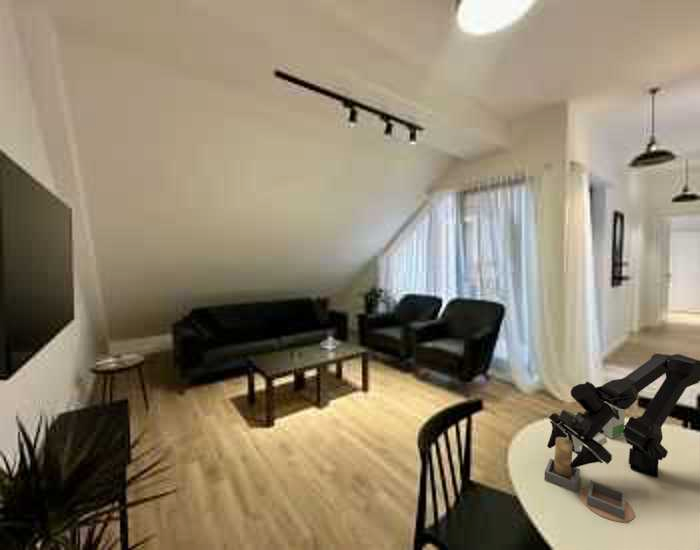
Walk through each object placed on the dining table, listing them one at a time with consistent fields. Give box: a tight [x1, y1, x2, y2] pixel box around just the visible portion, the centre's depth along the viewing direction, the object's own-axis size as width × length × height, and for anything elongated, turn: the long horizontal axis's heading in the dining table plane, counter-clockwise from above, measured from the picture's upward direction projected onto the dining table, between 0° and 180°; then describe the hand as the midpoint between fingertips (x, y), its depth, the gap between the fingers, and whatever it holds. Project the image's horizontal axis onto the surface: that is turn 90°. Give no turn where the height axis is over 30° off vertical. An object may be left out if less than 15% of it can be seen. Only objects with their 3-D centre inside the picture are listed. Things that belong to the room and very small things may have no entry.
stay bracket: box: [579, 479, 635, 523], centre depth 92 cm, size 12×12×3 cm
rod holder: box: [544, 458, 581, 493], centre depth 103 cm, size 8×8×2 cm
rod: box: [553, 437, 574, 480], centre depth 102 cm, size 4×4×12 cm
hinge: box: [564, 432, 608, 453], centre depth 119 cm, size 17×5×10 cm, turn 120°
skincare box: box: [602, 401, 626, 439], centre depth 125 cm, size 8×7×16 cm
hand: (559, 456), depth 102 cm, fingers open, 9 cm apart
